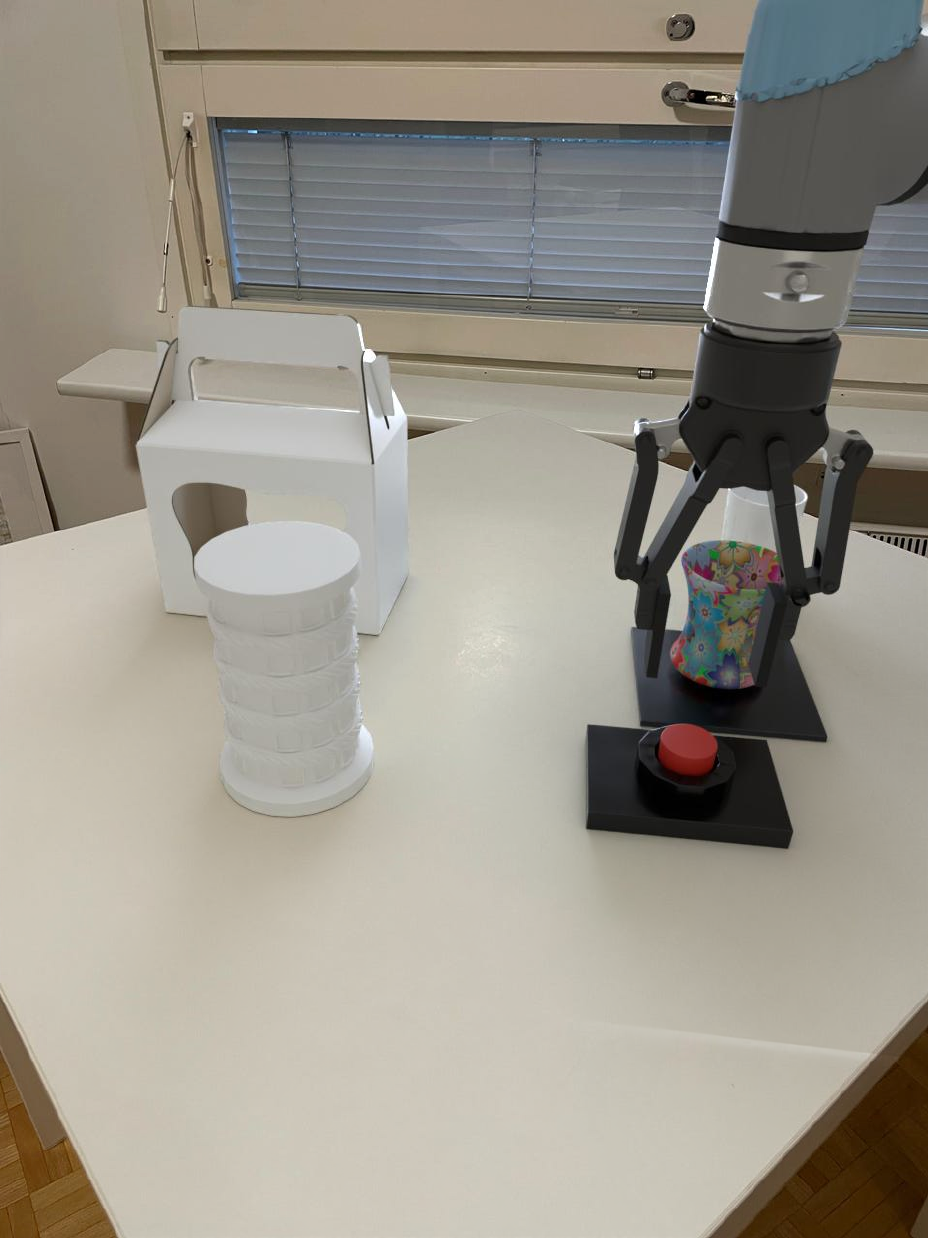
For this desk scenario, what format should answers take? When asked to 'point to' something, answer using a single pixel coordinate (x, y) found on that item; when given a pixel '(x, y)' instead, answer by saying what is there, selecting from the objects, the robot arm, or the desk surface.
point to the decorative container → (287, 665)
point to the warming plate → (728, 698)
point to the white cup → (754, 516)
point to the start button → (687, 750)
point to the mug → (722, 611)
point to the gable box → (273, 450)
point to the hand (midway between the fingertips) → (703, 670)
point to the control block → (683, 790)
